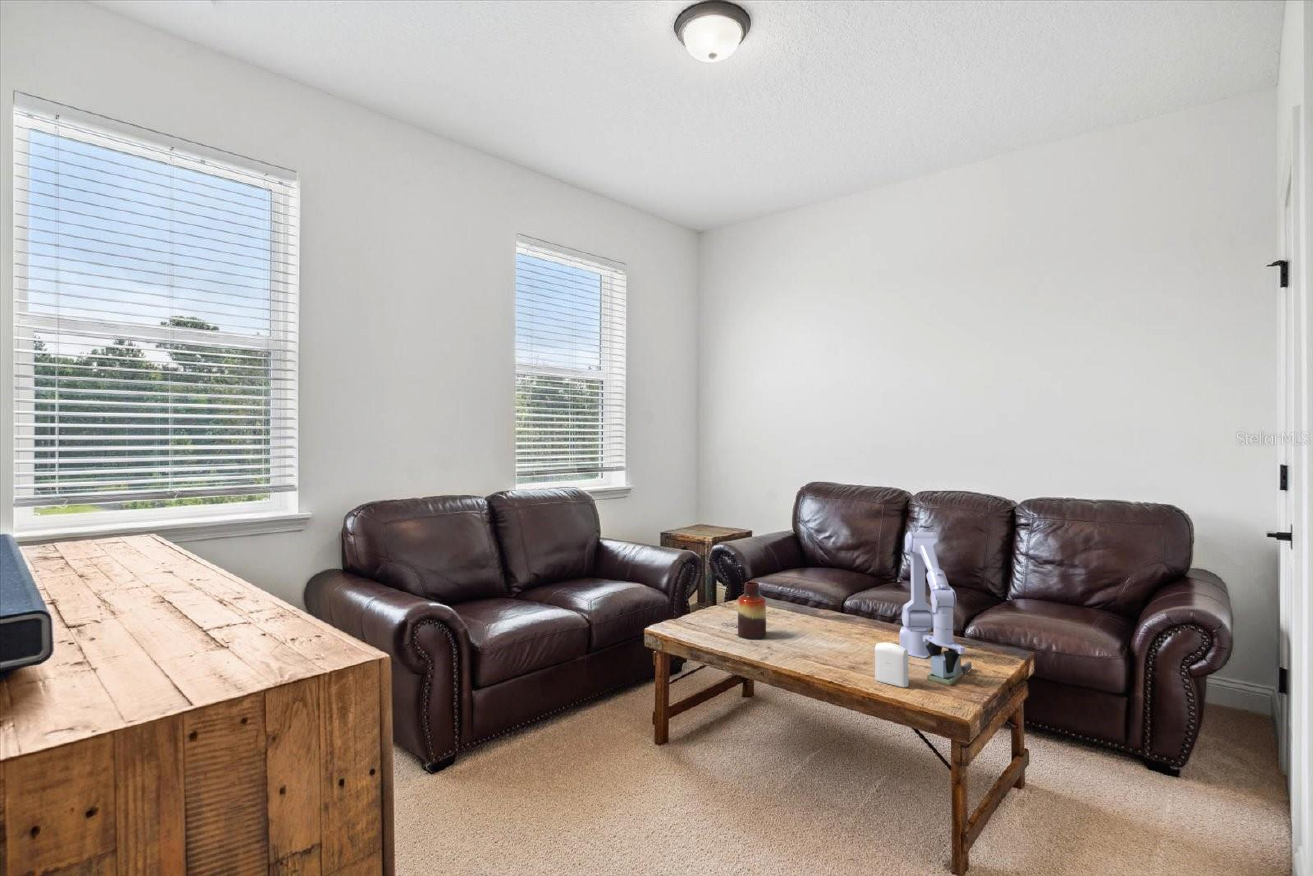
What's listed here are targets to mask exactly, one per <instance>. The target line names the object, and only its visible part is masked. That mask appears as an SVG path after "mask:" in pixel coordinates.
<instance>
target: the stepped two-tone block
mask: <svg viewBox="0 0 1313 876" xmlns="http://www.w3.org/2000/svg"><path fill="white" fill-rule="evenodd" d="M961 658H962V657H961V656H959V657H958V659H957V661H956V663H955V666H954V670H953V673H947V670H946V660H945V656H944V653H941V654H940V655H936V656H930V660H931V662H930V663H931V667H930V668H931V670H930V671H931V672H930V673H931V674H934V675H936V676H939V677H941V678H947V677H951V676H955V675H956V674H958V673H961V665H962V659H961Z"/></svg>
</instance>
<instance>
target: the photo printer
mask: <svg viewBox="0 0 1313 876" xmlns="http://www.w3.org/2000/svg"><path fill="white" fill-rule="evenodd" d="M874 679H875V681H876V682H880V683H884V684H888V685H891V686H896V687H900V688H903V689H904V688H908V687H909V655H908V651H907V649H905V648H904V647H902V646H899V644H897V643H893V642H885V641H884V642H877V643H876V644H875V647H874Z"/></svg>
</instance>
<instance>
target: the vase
mask: <svg viewBox="0 0 1313 876" xmlns="http://www.w3.org/2000/svg"><path fill="white" fill-rule="evenodd" d="M760 592H761V591H760V584H759V582H757V581H746V582H745V583H744V593H743V594H742V595H740V596H738V597H737V636H738V637H739V636H740V637H739V638H741V637H742V638H741V639H744V640H749V639H750V641H755V640H757V641H758V640H762V638H763V639H765V638H766V637H767V599H766V597H765V596H764V595H761V593H760ZM765 636H766V637H765ZM764 637H765V638H764Z"/></svg>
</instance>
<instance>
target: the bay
mask: <svg viewBox="0 0 1313 876" xmlns="http://www.w3.org/2000/svg"><path fill="white" fill-rule="evenodd" d="M970 669H971V670H972V661H969V660H968V661H967V662H965V664H963V665H962V664H961V671H962V673H963V674H966V673H967V674H968V673H969V672H970V671H971V670H970ZM969 670H970V671H969ZM968 671H969V672H968ZM963 674H962V675H963ZM967 674H966V675H967Z"/></svg>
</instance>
